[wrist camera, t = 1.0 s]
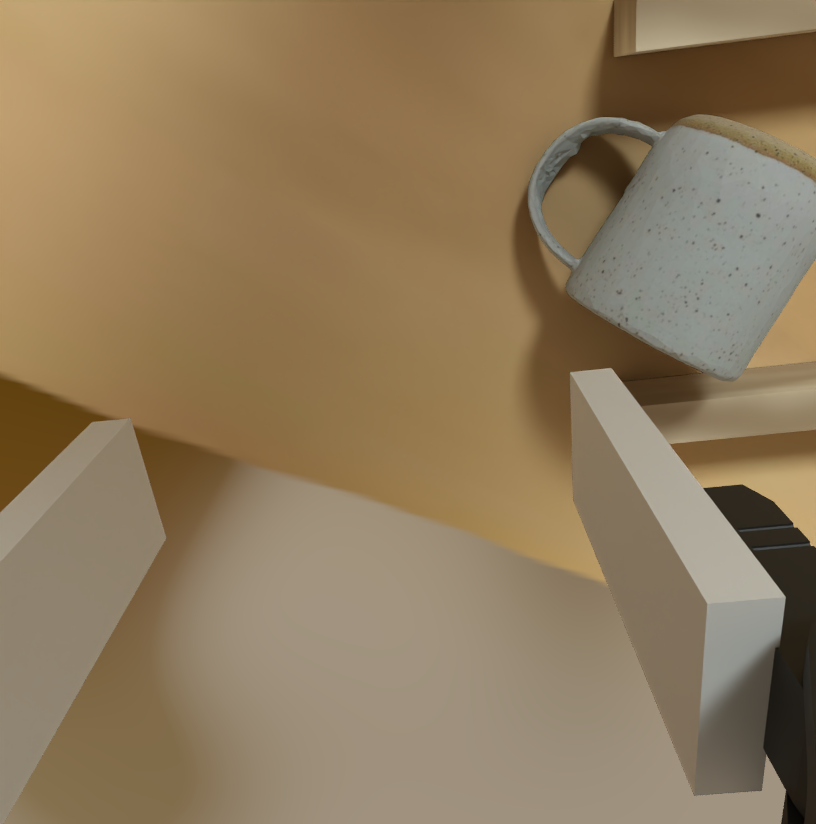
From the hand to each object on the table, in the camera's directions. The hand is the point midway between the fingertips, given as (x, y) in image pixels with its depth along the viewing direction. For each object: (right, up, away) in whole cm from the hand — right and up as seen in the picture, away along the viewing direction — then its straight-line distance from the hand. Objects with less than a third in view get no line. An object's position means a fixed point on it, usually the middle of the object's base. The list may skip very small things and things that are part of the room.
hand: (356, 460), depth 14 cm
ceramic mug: (+11, +9, +17) cm, 23 cm away
